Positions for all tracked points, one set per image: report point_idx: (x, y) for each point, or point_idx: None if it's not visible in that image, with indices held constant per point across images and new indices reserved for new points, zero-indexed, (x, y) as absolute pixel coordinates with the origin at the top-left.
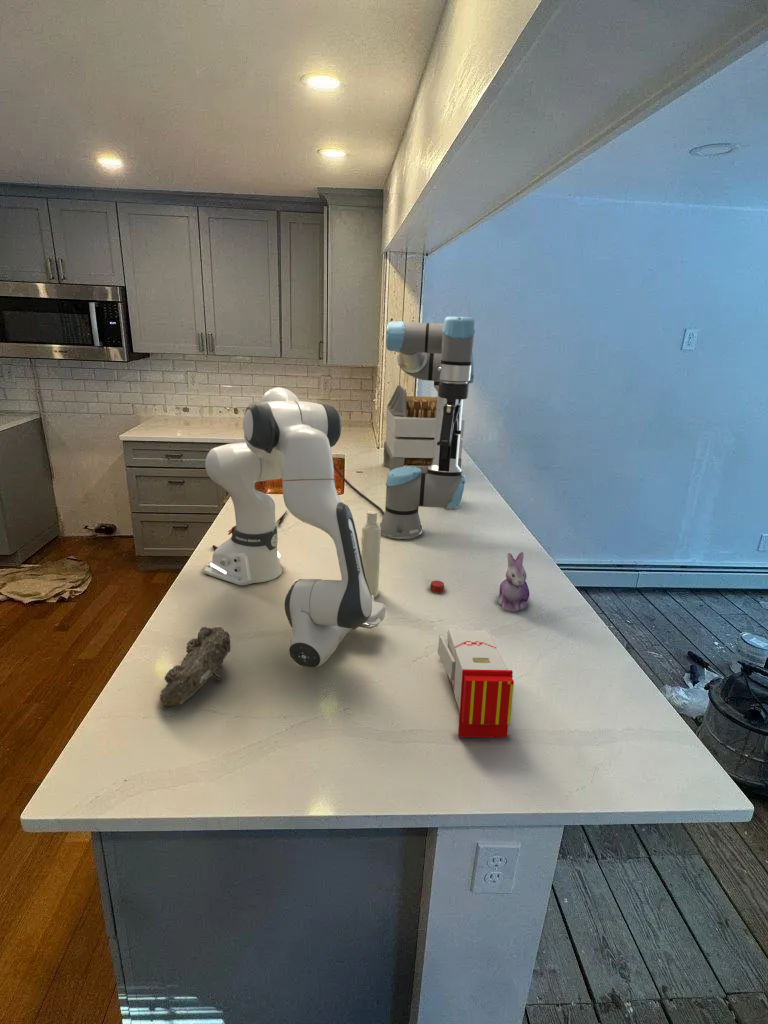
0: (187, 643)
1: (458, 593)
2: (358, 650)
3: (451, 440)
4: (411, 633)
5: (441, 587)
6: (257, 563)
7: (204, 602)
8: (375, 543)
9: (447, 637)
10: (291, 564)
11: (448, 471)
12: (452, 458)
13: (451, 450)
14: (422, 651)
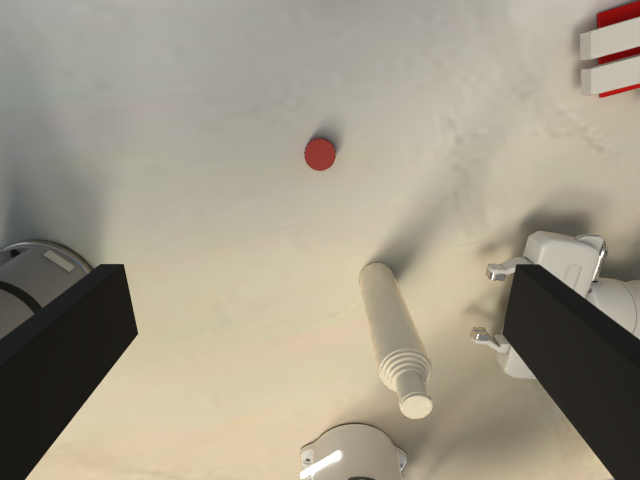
0: None
1: (319, 101)
2: None
3: (21, 425)
4: (509, 172)
5: (330, 143)
6: (392, 472)
7: (465, 473)
8: (417, 334)
9: (584, 94)
10: (306, 422)
11: (539, 266)
12: (127, 288)
13: (92, 339)
14: (569, 140)
